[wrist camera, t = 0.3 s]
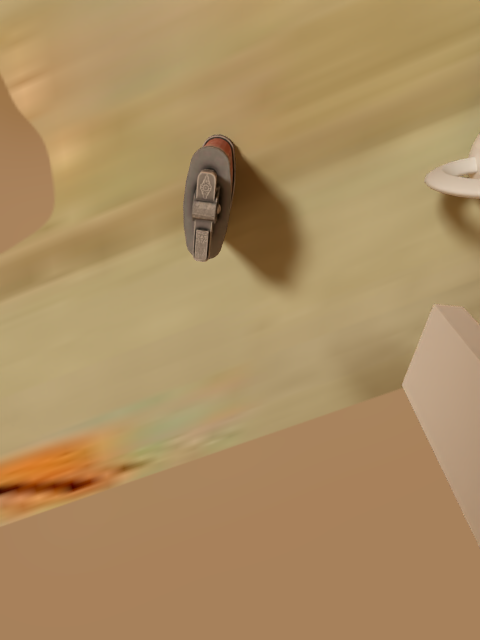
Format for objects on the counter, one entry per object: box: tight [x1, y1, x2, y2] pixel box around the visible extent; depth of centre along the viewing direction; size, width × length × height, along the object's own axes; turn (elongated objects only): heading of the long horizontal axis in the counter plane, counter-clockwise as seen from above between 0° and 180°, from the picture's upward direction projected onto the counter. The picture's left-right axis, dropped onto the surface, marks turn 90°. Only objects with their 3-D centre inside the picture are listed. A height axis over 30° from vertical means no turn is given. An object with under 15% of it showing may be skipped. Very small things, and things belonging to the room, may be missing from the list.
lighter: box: [183, 135, 236, 262], centre depth 31 cm, size 8×3×10 cm, turn 173°
